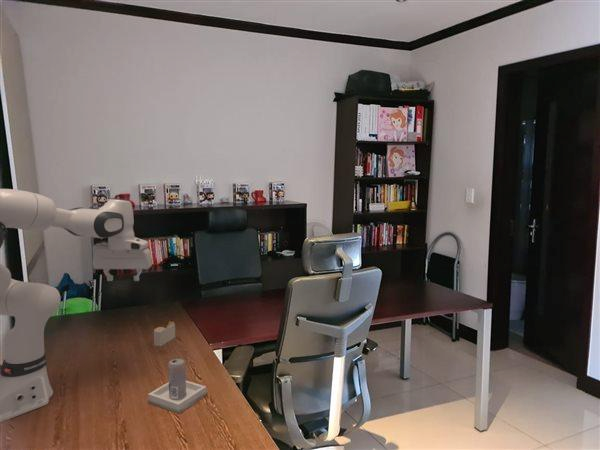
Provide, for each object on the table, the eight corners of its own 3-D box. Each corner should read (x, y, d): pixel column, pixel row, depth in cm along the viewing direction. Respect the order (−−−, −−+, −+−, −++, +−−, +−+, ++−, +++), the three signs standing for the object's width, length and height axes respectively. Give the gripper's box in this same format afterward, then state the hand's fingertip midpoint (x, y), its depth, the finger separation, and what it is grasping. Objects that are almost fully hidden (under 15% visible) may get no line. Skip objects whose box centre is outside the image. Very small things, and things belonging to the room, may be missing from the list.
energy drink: (179, 390, 155) (178, 356, 153) (189, 395, 151) (188, 361, 150) (166, 396, 151) (164, 362, 149) (176, 402, 147) (174, 366, 146)
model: (154, 346, 194) (153, 328, 193) (169, 337, 204) (168, 320, 203) (160, 347, 193) (160, 329, 192) (175, 338, 203) (174, 321, 202)
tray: (178, 413, 143) (178, 404, 142) (148, 402, 149) (148, 394, 148) (206, 394, 154) (206, 386, 153) (176, 385, 160) (176, 377, 160)
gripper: (88, 244, 161) (90, 283, 163) (147, 245, 162) (148, 283, 164) (95, 241, 167) (97, 278, 169) (152, 241, 168) (153, 278, 170)
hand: (123, 280), depth 167 cm, fingers open, 8 cm apart
